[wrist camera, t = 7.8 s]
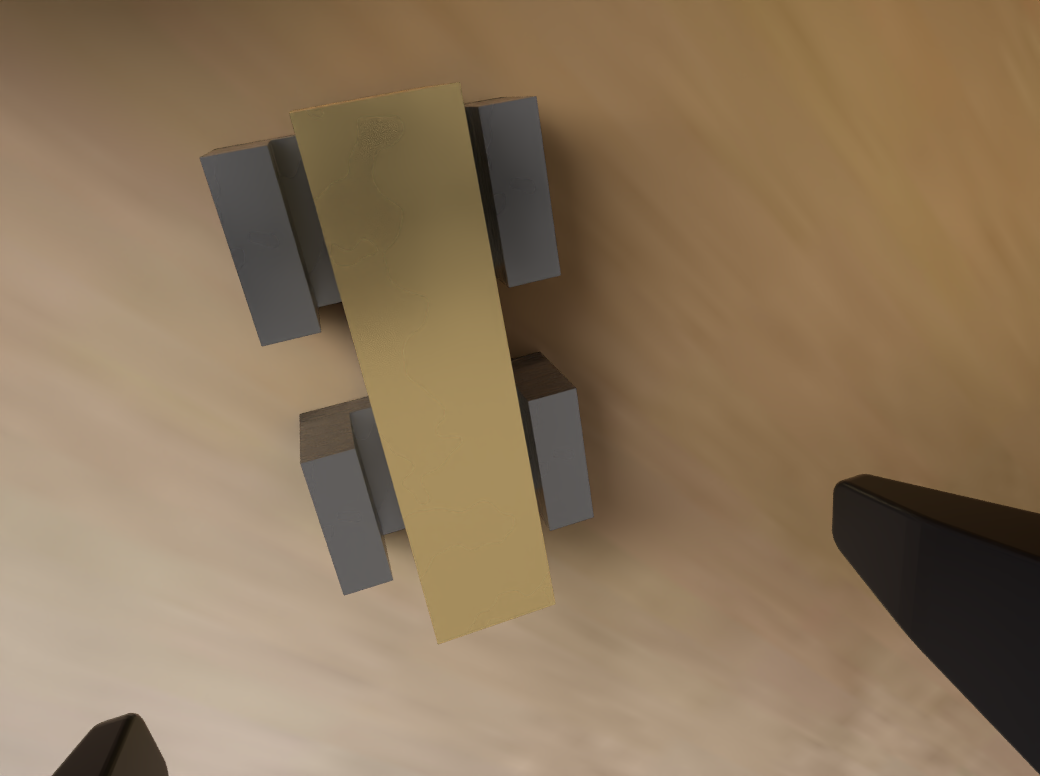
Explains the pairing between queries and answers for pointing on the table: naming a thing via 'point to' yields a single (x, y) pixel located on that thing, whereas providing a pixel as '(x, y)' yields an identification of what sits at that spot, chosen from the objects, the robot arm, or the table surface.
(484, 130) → the near chain end
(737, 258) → the table surface
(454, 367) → the tan rectangular block
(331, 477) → the bracket
